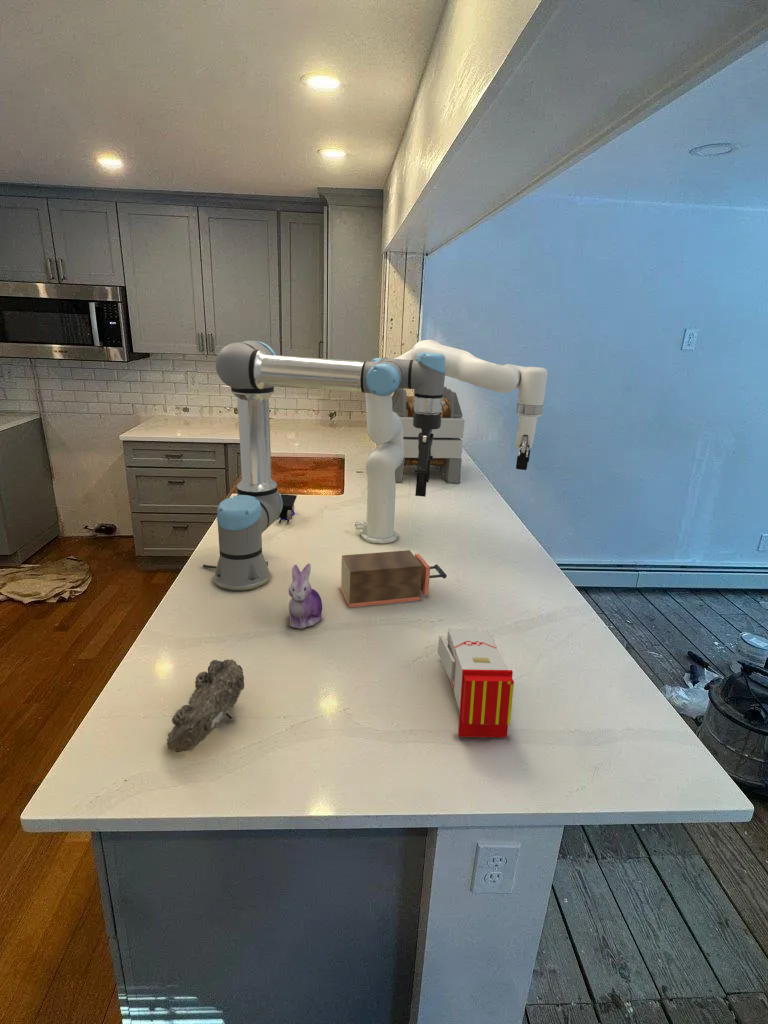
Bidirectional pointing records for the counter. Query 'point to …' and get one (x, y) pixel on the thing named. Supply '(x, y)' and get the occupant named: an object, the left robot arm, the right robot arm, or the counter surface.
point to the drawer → (428, 574)
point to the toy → (478, 682)
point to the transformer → (444, 439)
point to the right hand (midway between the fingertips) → (522, 465)
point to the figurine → (303, 600)
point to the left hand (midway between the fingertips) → (422, 488)
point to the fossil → (206, 705)
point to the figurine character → (287, 507)
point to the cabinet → (380, 578)
